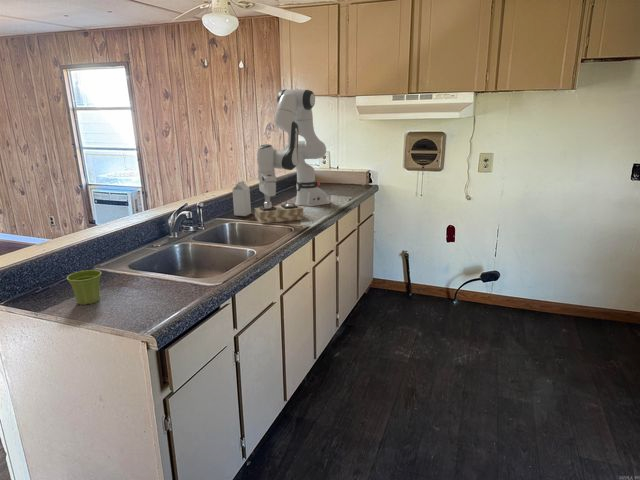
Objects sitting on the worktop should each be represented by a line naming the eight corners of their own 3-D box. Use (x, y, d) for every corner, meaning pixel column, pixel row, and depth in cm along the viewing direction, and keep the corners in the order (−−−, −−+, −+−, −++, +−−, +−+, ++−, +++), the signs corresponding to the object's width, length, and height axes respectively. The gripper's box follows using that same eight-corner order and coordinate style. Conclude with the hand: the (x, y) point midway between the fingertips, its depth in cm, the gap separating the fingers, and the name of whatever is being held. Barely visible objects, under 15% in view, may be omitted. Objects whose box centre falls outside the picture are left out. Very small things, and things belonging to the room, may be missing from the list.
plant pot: (88, 293, 142) (83, 268, 139) (112, 296, 139) (108, 271, 137) (64, 305, 133) (59, 278, 131) (89, 309, 131) (84, 281, 128)
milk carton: (251, 213, 252) (249, 180, 247) (245, 216, 246) (243, 182, 241) (240, 213, 255) (238, 180, 249) (234, 215, 248) (231, 182, 243)
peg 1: (270, 213, 238) (270, 201, 237) (272, 215, 235) (272, 202, 233) (263, 214, 237) (263, 201, 235) (265, 215, 234) (265, 203, 232)
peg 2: (291, 215, 243) (291, 203, 242) (294, 217, 240) (293, 205, 238) (285, 216, 242) (284, 204, 240) (287, 217, 238) (286, 205, 237)
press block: (296, 214, 249) (296, 202, 247) (303, 219, 238) (303, 206, 236) (255, 218, 240) (254, 206, 238) (260, 223, 229) (259, 210, 227)
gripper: (255, 174, 238) (257, 199, 242) (265, 179, 220) (266, 206, 224) (267, 173, 241) (268, 198, 244) (277, 178, 222) (278, 205, 226)
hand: (267, 202), depth 234 cm, fingers closed, pressing on peg 1
